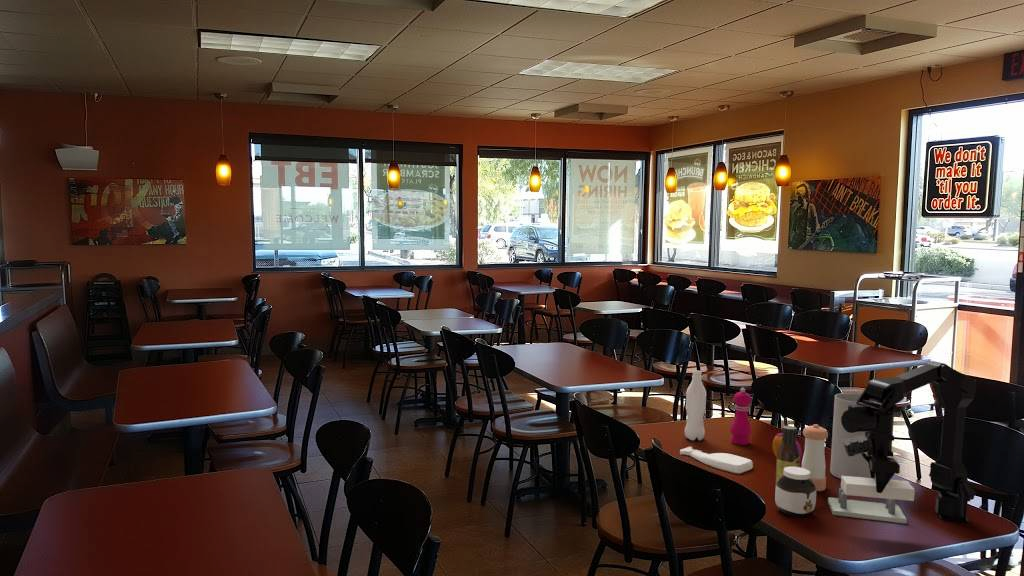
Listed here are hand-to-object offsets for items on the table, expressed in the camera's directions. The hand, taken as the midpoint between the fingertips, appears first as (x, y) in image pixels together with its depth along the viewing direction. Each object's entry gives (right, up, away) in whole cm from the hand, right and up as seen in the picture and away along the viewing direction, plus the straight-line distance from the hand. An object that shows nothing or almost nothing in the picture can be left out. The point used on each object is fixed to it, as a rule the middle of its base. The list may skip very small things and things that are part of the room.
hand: (876, 488), depth 189 cm
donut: (-4, -6, +51) cm, 52 cm away
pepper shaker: (-4, -8, +31) cm, 32 cm away
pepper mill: (-12, -4, +73) cm, 75 cm away
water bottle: (-28, -3, +77) cm, 82 cm away
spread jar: (-16, -10, +13) cm, 23 cm away
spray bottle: (-28, -6, +53) cm, 60 cm away
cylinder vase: (+12, -8, +40) cm, 43 cm away
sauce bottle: (-14, -9, +24) cm, 29 cm away
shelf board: (0, -1, 0) cm, 1 cm away
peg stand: (+3, -10, +12) cm, 16 cm away
